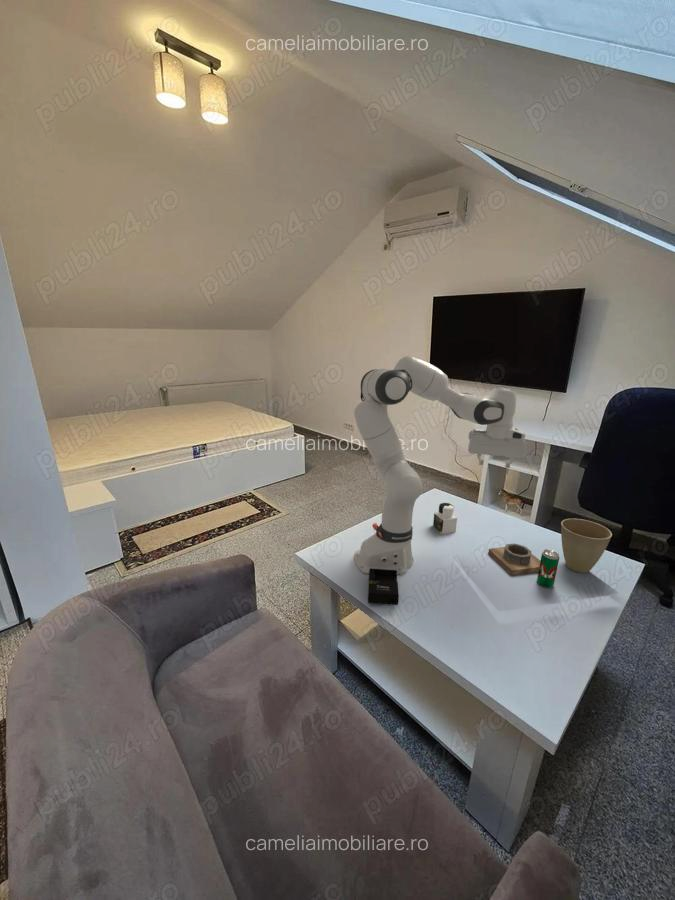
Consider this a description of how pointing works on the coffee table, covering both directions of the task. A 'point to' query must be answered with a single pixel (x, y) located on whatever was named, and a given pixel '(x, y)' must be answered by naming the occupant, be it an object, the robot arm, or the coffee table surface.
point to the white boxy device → (445, 519)
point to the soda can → (548, 568)
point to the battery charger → (383, 587)
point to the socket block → (515, 559)
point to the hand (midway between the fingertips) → (494, 466)
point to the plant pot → (583, 543)
